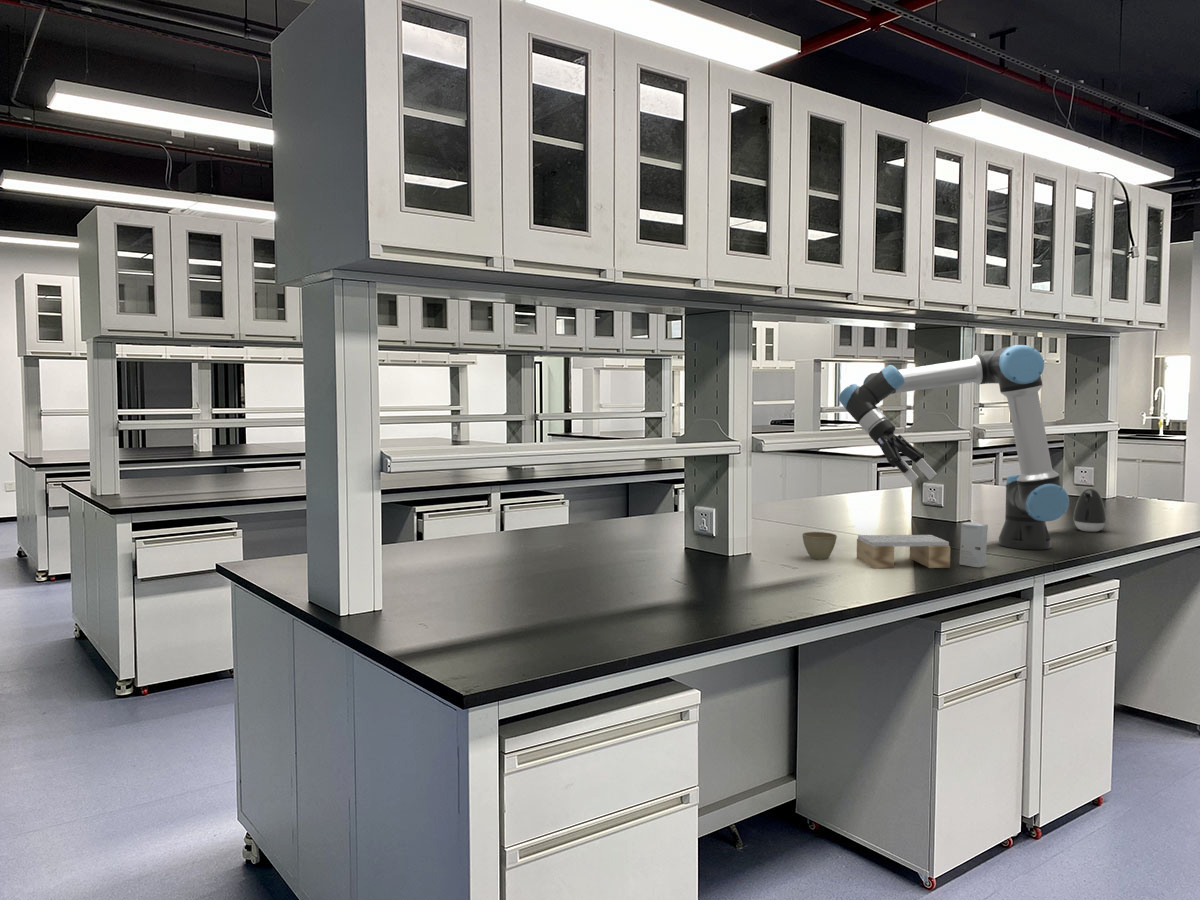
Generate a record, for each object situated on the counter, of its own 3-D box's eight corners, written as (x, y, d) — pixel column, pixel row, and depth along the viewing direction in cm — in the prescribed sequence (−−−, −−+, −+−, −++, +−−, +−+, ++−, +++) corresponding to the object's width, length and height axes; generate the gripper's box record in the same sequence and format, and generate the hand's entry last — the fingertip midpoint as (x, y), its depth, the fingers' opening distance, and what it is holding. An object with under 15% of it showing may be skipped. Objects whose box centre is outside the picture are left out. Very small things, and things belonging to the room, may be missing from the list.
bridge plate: (931, 538, 247) (931, 534, 247) (948, 546, 235) (948, 541, 235) (858, 539, 247) (858, 535, 247) (871, 546, 235) (872, 542, 235)
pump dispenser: (1068, 530, 298) (1069, 488, 297) (1078, 527, 305) (1079, 486, 304) (1100, 534, 291) (1101, 491, 290) (1109, 530, 298) (1111, 488, 297)
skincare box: (958, 564, 239) (959, 523, 238) (965, 562, 242) (966, 521, 241) (980, 568, 234) (981, 525, 233) (987, 566, 237) (988, 524, 236)
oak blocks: (929, 558, 249) (929, 538, 248) (949, 567, 235) (950, 546, 234) (856, 558, 248) (856, 538, 248) (872, 568, 234) (873, 547, 234)
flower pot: (798, 559, 247) (799, 535, 246) (805, 553, 256) (806, 530, 255) (833, 562, 242) (833, 538, 242) (839, 556, 252) (839, 533, 251)
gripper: (886, 433, 267) (931, 483, 258) (850, 435, 249) (897, 489, 240) (903, 417, 263) (949, 467, 254) (868, 418, 245) (916, 472, 236)
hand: (924, 478), depth 247 cm, fingers open, 13 cm apart
